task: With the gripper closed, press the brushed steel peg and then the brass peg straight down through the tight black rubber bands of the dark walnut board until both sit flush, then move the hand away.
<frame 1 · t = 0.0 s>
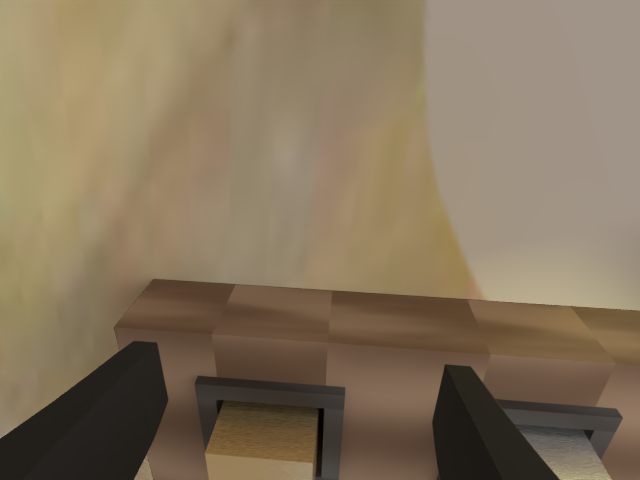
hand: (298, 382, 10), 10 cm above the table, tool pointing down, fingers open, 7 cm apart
brass peg: (269, 447, 19), point 5 cm above the table, slide at 2.5 cm
steel peg: (524, 470, 19), point 5 cm above the table, slide at 2.5 cm
walnut board: (387, 380, 23), on the table
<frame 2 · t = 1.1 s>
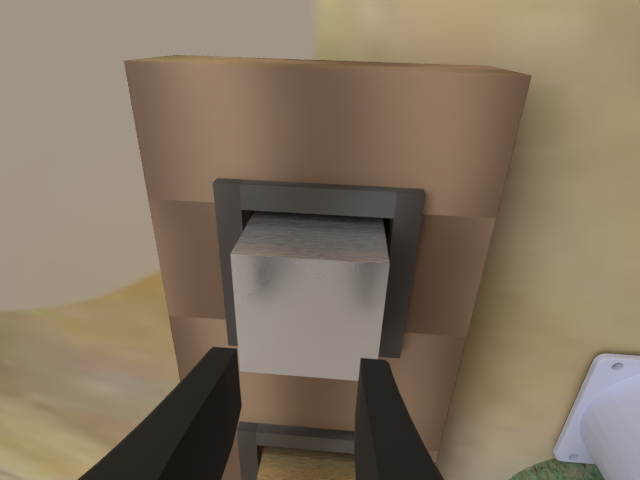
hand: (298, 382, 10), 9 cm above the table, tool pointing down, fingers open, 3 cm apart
steel peg: (314, 285, 14), point 5 cm above the table, slide at 2.5 cm
walnut board: (319, 329, 21), on the table
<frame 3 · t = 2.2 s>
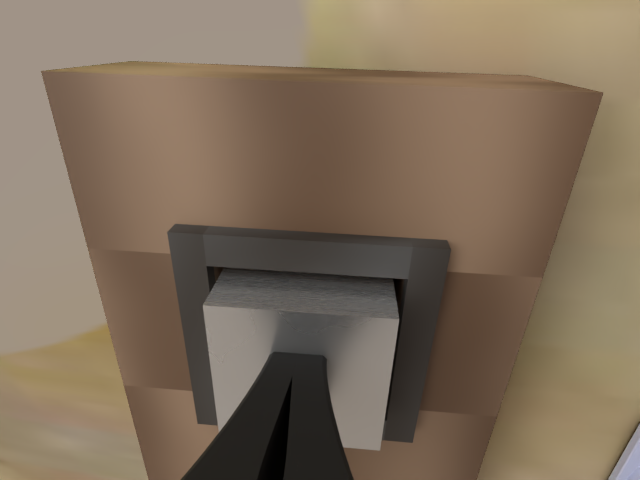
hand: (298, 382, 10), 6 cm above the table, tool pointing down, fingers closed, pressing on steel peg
steel peg: (307, 330, 12), point 4 cm above the table, slide at 1.2 cm, touching gripper
walnut board: (314, 383, 18), on the table
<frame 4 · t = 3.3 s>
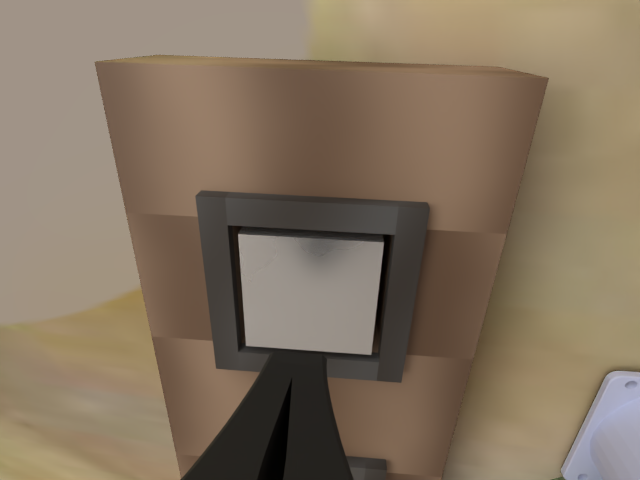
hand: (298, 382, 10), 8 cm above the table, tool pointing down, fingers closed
steel peg: (314, 266, 15), point 2 cm above the table, slide at 0.0 cm
walnut board: (315, 345, 20), on the table
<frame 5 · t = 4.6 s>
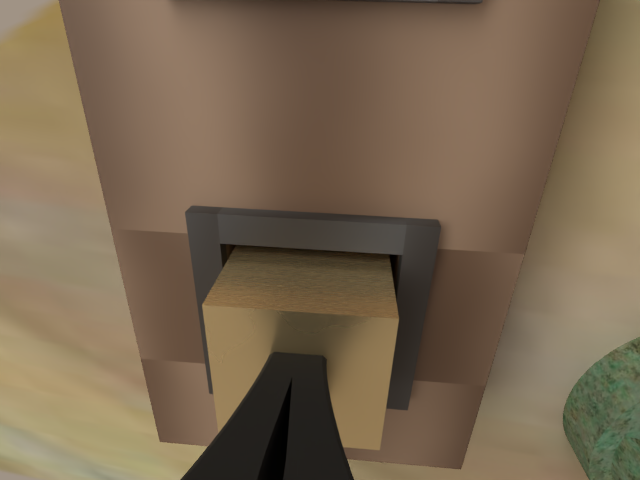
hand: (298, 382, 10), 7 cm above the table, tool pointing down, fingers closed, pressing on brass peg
brass peg: (307, 330, 12), point 5 cm above the table, slide at 2.5 cm, touching gripper
walnut board: (325, 96, 14), on the table
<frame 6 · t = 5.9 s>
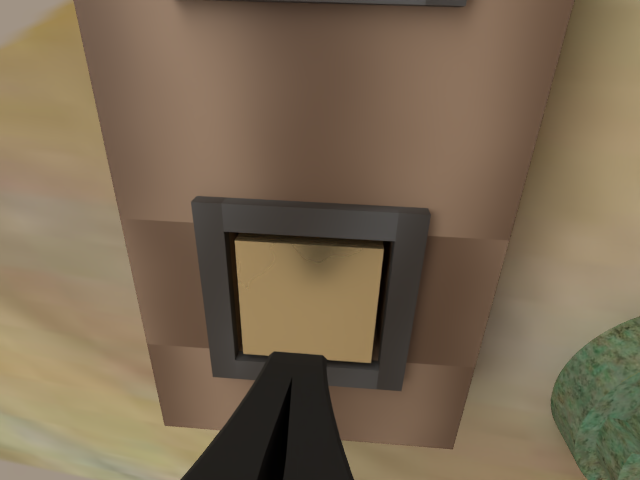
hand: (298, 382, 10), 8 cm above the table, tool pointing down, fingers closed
brass peg: (313, 272, 15), point 2 cm above the table, slide at 0.0 cm
walnut board: (322, 94, 14), on the table
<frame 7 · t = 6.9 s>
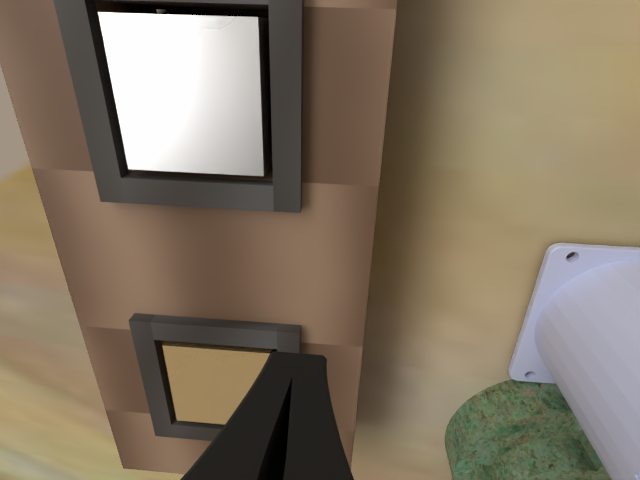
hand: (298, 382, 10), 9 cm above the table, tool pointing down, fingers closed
brass peg: (233, 355, 19), point 2 cm above the table, slide at 0.0 cm
decorative artifact: (529, 432, 24), on the table
steel peg: (209, 91, 14), point 2 cm above the table, slide at 0.0 cm
walnut board: (238, 221, 19), on the table
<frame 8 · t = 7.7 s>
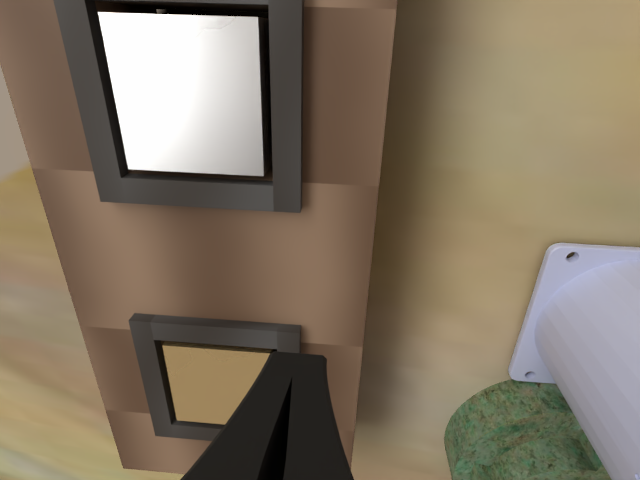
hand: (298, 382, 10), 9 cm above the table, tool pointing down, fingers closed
brass peg: (233, 355, 19), point 2 cm above the table, slide at 0.0 cm
decorative artifact: (528, 432, 24), on the table
steel peg: (209, 91, 14), point 2 cm above the table, slide at 0.0 cm
walnut board: (238, 221, 19), on the table
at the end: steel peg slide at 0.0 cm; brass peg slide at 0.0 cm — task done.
